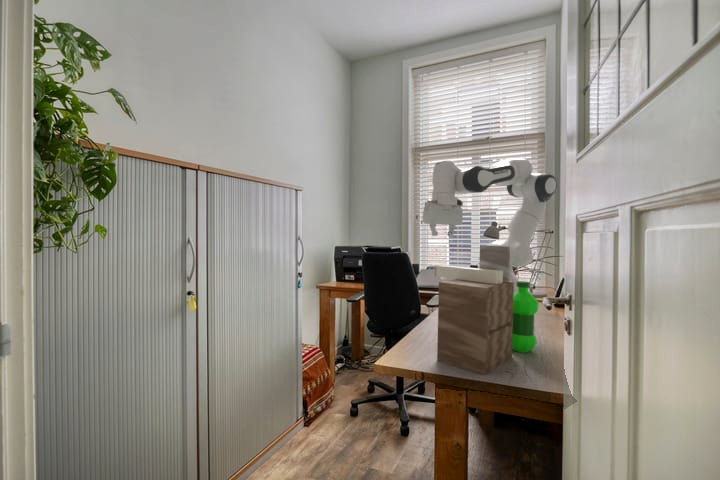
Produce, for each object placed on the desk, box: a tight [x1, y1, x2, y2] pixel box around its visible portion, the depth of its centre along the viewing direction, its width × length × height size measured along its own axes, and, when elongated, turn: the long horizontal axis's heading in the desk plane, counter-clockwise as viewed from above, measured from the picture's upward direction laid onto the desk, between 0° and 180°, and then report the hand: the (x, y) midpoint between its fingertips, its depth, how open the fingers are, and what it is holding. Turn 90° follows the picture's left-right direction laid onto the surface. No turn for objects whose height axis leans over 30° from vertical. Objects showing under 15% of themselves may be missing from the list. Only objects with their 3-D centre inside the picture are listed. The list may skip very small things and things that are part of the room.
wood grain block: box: [436, 244, 514, 376], centre depth 116 cm, size 22×16×38 cm
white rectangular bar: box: [434, 264, 503, 284], centre depth 122 cm, size 5×24×4 cm, turn 41°
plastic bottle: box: [512, 280, 540, 354], centre depth 126 cm, size 10×10×25 cm
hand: (442, 235), depth 138 cm, fingers open, 8 cm apart
